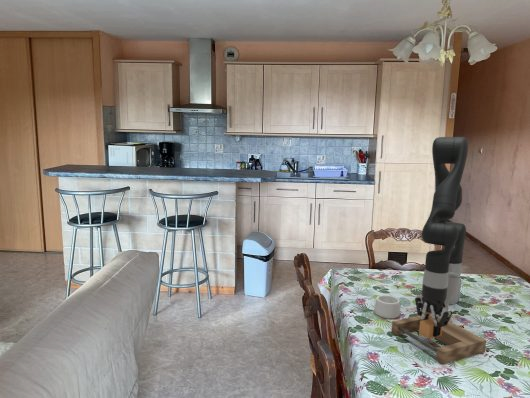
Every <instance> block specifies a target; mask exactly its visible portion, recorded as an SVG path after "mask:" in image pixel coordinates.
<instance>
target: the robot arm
mask: <svg viewBox="0 0 530 398" xmlns="http://www.w3.org/2000/svg"><path fill="white" fill-rule="evenodd" d="M431 148H432V151H431V153H432V162H433V168H434V169H433V170H434V179H435V180H434V182H435V183H434V194H433V199H432V205H431V211H430V214H429V215H428V219H426V222H425V223H424V226H423V228H422V229H421V239H422V241H424V242H425V243H426V244H430V245H435V246H436V245H437V246H444V247H443V248H441V249H439V250H430V251H427V253H426V255H425V262H424V263H425V265H424V272H423V276H422V286H421V296H417V297H415V298H414V301H415V302H414V303H415V309H416V314H417V316H419V315H420V316H421V318H422V320H426V319H428V318H429V316H430V314H432V319H433V320H434V328H433V336H434V337H437V336H439V335H440V332H441V327H443V326H447V324H448V322H449V320H450V318H451V319H452V316H453V311H452V310H447V309H446V308H445V302H446V298H447V288H448V272H453V273H456V274H459V275H460V276H461V275H462V274H461V273H462V266H463V265H462V263H463V255H464V254H463V253H464V247H465V239H466V233H467V228H466V227H467V226H466V225H465V224H464V223H460V222H453V221H447V220H451V219H453V218H454V217H455V213H456V211H457V210H458V209H459V208H460V207H461V205H462V202H463V188H462V185H461V180H462V178H463V175H464V170H465V166H466V163H467V158H468V151H469V145H468V139H467V138H466V137H464V136H438V137H436V138H434V140H433V142H432V146H431ZM447 164H452V165H454V166H453V168H452V170H451V171H449V169H448V168H447ZM461 288H462V279H461V278H460V279H459V283H458V290H457V292H456V294H455V295H454V296H453V298H452V299H449V305H456V304H457V303H458V302H460V298H461ZM436 315H437V316H436ZM437 319H438V320H437Z"/></svg>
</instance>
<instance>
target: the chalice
mask: <svg viewBox="0 0 530 398" xmlns="http://www.w3.org/2000/svg"><path fill="white" fill-rule="evenodd" d="M461 277H462V276H461V275H459V274H456V273H453V272H448V288H447V298H446V302H445V308H446V309H447V310H448V311H450V308H449V305H450V304H449V299H452V298H453V296H454V295H455V294H456V292H457V290H458V283H459V279H461ZM449 321H450V322H452V323H454V322H453V320H452V317H451V318H450V320H449Z"/></svg>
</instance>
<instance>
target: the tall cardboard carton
mask: <svg viewBox="0 0 530 398" xmlns="http://www.w3.org/2000/svg"><path fill="white" fill-rule="evenodd" d="M433 328H434V320H433V319H432V318H431V319H426V320H422V321H420V327H419V330H418V334H419V335H420V336H422V337H424V338H425V339H428V340H430V339H436V338H435V337H434V336H433ZM442 328H443V327H441V332H440V335H439V336H442ZM439 336H437V337H439Z"/></svg>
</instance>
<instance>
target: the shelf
mask: <svg viewBox="0 0 530 398" xmlns="http://www.w3.org/2000/svg"><path fill="white" fill-rule="evenodd" d="M436 316H437V315H436ZM431 318H432V314H430V316H429V318H428V319H431ZM437 320H438V319H437ZM420 321H422V318H421V316H420V315H416V316H411V317H407V318H401V319H397V320H393V321H391V330H390V331H391V333H392V334H394V336H400V335H403V334H405V335H407V336H409V337H410V338H412V339H414V340H415V341H417V342H418V343H420V344H421V345H423V346H425V347H427V348H428V349H430V350H431V351H433V352H434V353H435V361H436V362H437V363H439V364H441V365H446V364H450V363H452V362H455V361H459V360H463V359H467V358H469V357H472V356H475V355H479V354H482V353H485V352H486V345H487V339H485V338H484V337H481V336H479V335H477V334H475V333H473V332H471V331H469V330H467V329H465V328H463V327H462V326H460V325H457V324H455V323H454V322H453V321H452V322H453V323H452V322H450V321H449V322H448V324H447V326H443V328H442V336H439V337H435V338H434V339H436V340H437V341H439V342H441V343H442V344H444V346H441V347H435V346H434V345H432V344H430V343H429V342H427V341H425V340H424V339H422V338H421V337H419V336H417V335H415V334H414V333H413V332H415V331H416V332H417V331H419V327H420Z"/></svg>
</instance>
